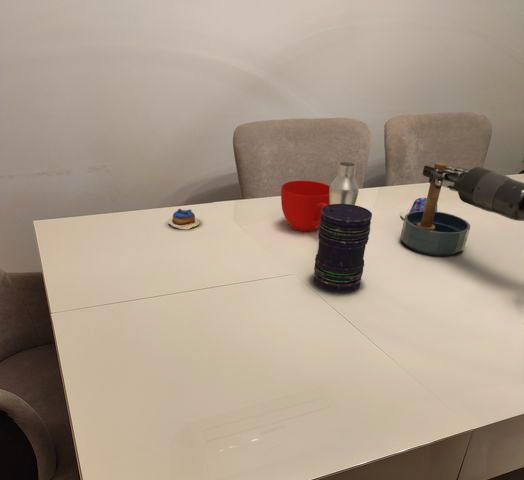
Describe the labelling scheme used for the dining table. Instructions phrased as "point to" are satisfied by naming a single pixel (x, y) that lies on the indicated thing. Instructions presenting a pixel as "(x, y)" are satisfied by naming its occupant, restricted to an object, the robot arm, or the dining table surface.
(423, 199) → the purple patterned hat
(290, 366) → the dining table surface
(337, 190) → the silver bottle
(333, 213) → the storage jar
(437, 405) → the dining table surface
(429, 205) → the stirring stick
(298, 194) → the ceramic cup
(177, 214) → the dessert
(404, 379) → the dining table surface
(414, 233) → the bowl
